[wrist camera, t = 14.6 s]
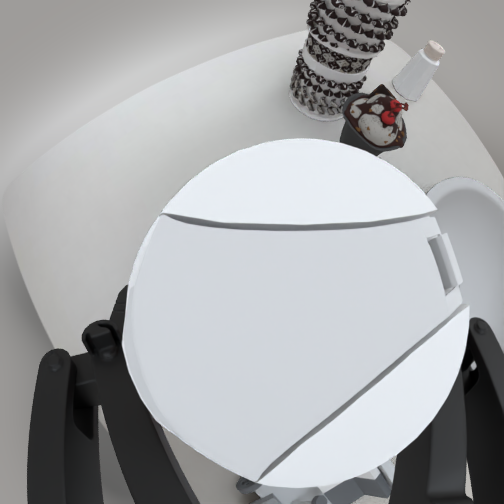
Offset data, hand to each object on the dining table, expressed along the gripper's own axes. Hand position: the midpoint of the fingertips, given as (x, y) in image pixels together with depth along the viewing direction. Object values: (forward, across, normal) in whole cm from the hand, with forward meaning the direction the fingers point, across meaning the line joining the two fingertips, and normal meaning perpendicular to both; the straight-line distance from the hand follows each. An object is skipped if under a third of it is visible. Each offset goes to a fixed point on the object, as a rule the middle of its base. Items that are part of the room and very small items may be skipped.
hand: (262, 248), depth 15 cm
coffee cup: (+2, 0, -6) cm, 7 cm away
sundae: (+20, +12, -2) cm, 23 cm away
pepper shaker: (+31, +27, +9) cm, 42 cm away
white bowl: (+10, +26, -13) cm, 30 cm away
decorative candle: (+28, +11, +6) cm, 30 cm away
